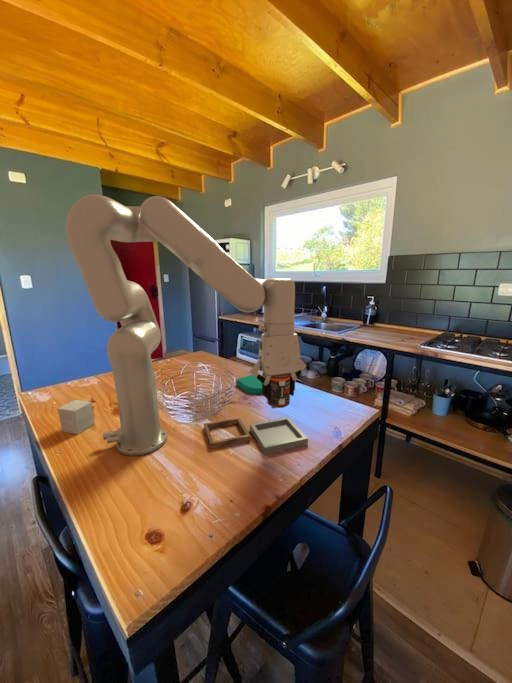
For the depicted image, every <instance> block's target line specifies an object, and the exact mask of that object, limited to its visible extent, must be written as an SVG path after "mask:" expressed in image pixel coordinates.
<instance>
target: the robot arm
mask: <svg viewBox="0 0 512 683" xmlns="http://www.w3.org/2000/svg"><path fill="white" fill-rule="evenodd" d="M66 217H67V218H66V222H65V234H66V238H67V241H68V244H69V247H70V249H71V252H72V254H73V256H74V258H75V261H76V263H77V265H78V267H79V270H80V271H81V275H82V277H83V280H84V282H85V284H86V285H85V286H86V288H87V290H88V292H89V295H90V298H91V300H92V302H93V305H94V307H95V309H96V310H95V311H96V312H97V314H98V315H99V316H100V317H101V318H102V319H103V320H105V321H107V322H110V323H118V322H119V323H120V326H121V327H119V328H117V329H116V330H115V331H114V332H112V334H110V336H109V338H108V341H107V344H106V355H107V359H108V361H109V365H110V367H111V370H112V371H111V372H112V375H113V381H114V388H115V393H116V400H117V407H118V408H117V409H118V415H119V424H120V428H117V429H115V430H112V431H111V430H110V431H105V432H103V433H102V439H103V440H104V441H106V442H107V444H111V443H115V442H116V444H115V445H116V450H117V451H118V452H119V453H120V454H122V455H125V456H141V455H146V454H149V453H152V452H155V450H158V449H160V447H162V446H163V445H164V444H165V443H166V441H167V440H168V432H167V431H166V429H164V428H163V427H161V422H160V421H161V419H160V410H159V400H158V389H157V383H156V373H155V369H154V366H153V365H154V364H153V362H152V357H151V356H152V354H153V353H154V351H156V349H157V348H158V347H159V346H160V343H161V339H162V334H161V329H160V326H159V323H158V321H157V318H156V315H155V311H154V309H153V307H152V304H151V301H150V299H149V297H148V293H146V291H145V290H144V288H143V287H142V286H141V285H140V284H139V283H136V282H134V281H131V280H128V279H127V277H126V274H125V272H124V269H123V266H122V263H121V260H120V258H119V257H118V254H117V253H116V251H115V249H114V248H113V246H112V243H111V241H115V242H116V241H117V242H120V243H146V242H147V243H149V242H150V243H151V242H159V243H160V244H161V245H163V246H164V247H165V248H166V249H168V250H169V251H170V252H171V253H172V254H173V255H174V256H176V257H177V258H178V259H179V260H180V261H181V262H182V263H184V264H185V265H186V266H187V267H188V268H190V269H191V271H193V272H194V274H196V275H197V276H198V277H199V278H201V279H202V280H203V281H204V282H205V283H206V284H207V285H209V286H210V287H211V288H212V289H213V290H214V291H215V292H217V294H219V295H220V296H221V297H223V298H224V299H225V300H226V301H227V302H228V303H230V304H231V305H232V306H233V307H235V309H237V310H239V311H240V312H243V313H254V312H256V311H259V310H260V308H262V307H263V322H262V324H261V325H259V326H258V331H259V332H263V333H262V334H261V336H260V341H259V347H258V348H259V349H258V361H256V363H255V364H254V365H253V366H252V368H250V370H249V373H250V374H251V375H253V376H255V377H256V378H257V379H258V380H259V381H261V382H262V394H261V395H262V396H264V398H265V399H267V400H269V399H270V385H269V380H270V378H271V376H274V375H282V374H289V373H290V397H291V396H293V397H294V395H295V391H296V381H297V380H298V377H299V376H300V375H301V373H302V372H303V371H304V369H305V368H306V367H307V364H306V363H305V362H304V361H303V360H302V359H301V350H300V343H299V342H300V341H299V336H298V333H296V332H295V307H296V306H295V304H296V302H295V299H296V298H295V297H296V296H295V295H296V283H295V281H294V279H292V278H288V277H273V278H268V279H265V278H264V279H263V278H256V277H253V276H252V275H251V274H250V272H248V271H247V270H245V268H243V267H242V266H241V265H240V264H239V263H238V262H236V261H235V259H233V258H232V257H231V256H230V255H229V254H228V253H226V251H225V250H224V249H223V248H222V247H221V246H220V244H219V243H218V242H217V241H216V240H214V238H213V237H212V236H211V235H209V234H208V233H207V232H206V231H205V230H204V229H202V228H201V227H200V226H199V225H198V224H197V223H196V222H195V221H194V220H192V219H191V218H190V217H189V215H187V214H186V213H185V212H183V211H182V210H181V209H180V208H179V207H177V206H176V204H174V203H173V202H172V201H171V200H169V199H168V198H166V197H164V196H160V195H155V196H149V197H148V198H145V200H144V201H143V202H142V203H141V205H140V206H139V205H138V206H130V205H129V206H126V205H124V204H122V203H120V202H118V201H117V200H115V199H113V198H111V197H109V196H105V195H103V194H102V195H101V194H87V195H84V196H82V197H81V198H79V199H78V200H76V202H74V203H73V205H72V206H71V207H70V209H69V211H68V214H67V216H66ZM259 371H262V374H260V372H259ZM267 400H266V401H267Z"/></svg>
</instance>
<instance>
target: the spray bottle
mask: <svg viewBox="0 0 512 683" xmlns="http://www.w3.org/2000/svg"><path fill="white" fill-rule="evenodd" d="M235 384H236V386H237V387H238V389H239V388H240V389H241V390H242V391H244V392H245V393H248V394H251V395H263V394H262V382H261V381H259V380H258V379H257V378H256V377H255V376H253V375H252V374H251V375H246V376H242V377H239V378H237V380H236V381H235ZM265 399H266V401H267V398H265Z"/></svg>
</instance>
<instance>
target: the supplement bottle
mask: <svg viewBox="0 0 512 683" xmlns="http://www.w3.org/2000/svg"><path fill="white" fill-rule="evenodd" d="M269 385H270V399H269V400H266V401H267V404H268V405H269V406H270V407H273V408H275V409H282V408H286V407H287V406H289V405H290V401H291V399H290V398H291V395H290V373H289V374H282V375H274V376H271V378H270V380H269Z"/></svg>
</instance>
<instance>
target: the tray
mask: <svg viewBox="0 0 512 683" xmlns="http://www.w3.org/2000/svg"><path fill="white" fill-rule="evenodd" d="M249 430H250V432H251V434H252V435H253V436H254V438H255V440H256V442H257V443H258V445H259V447H260V448H261V450H262V451H263V453H264V454H265V455H266V454H272V453H275V452H280V451H284V450H285V451H286V450H289V449H290V450H291V449H294V448H299V447H302V446H307V445H309V444H308V443H309V437H307V436H306V434H305V433H304V432H303V431H302V430H301V429H300V428H299V427H298V426H297V425H296V423H295V422H294V421H293V420H292V419H291V418H290V417H289V416H287V417H281V418H277V419H275V418H274V419H270V420H266V421H265V420H264V421H260V422H254V423H250V424H249Z"/></svg>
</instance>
